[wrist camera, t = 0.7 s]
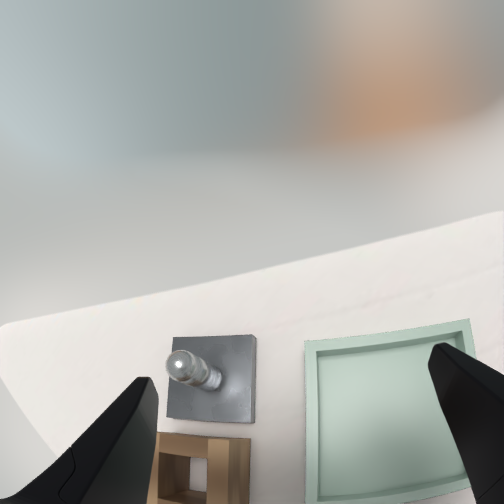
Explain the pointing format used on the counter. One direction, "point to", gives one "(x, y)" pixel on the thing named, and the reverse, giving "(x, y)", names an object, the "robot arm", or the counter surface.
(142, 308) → the counter surface
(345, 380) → the sage tray
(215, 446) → the walnut block
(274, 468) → the counter surface
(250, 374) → the stand
